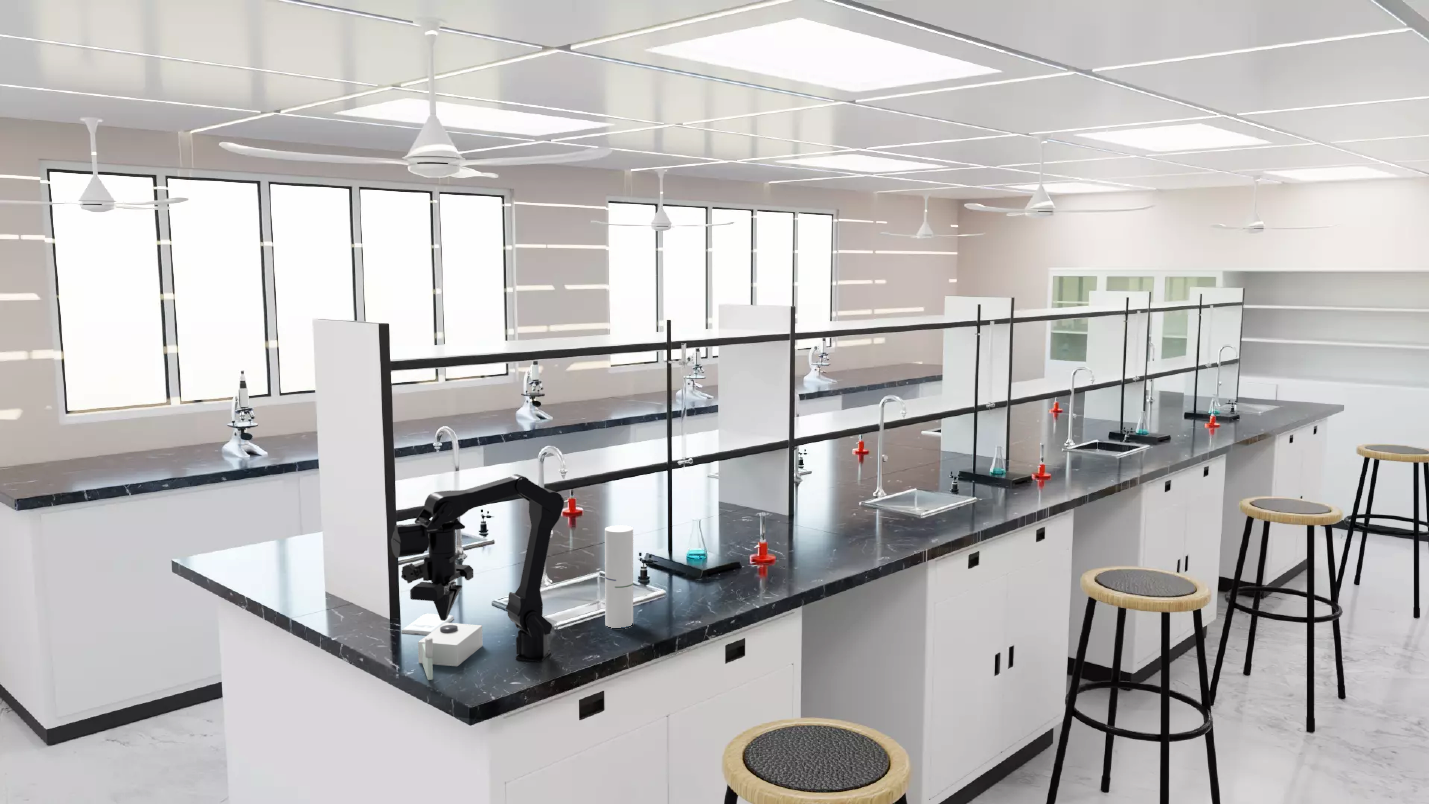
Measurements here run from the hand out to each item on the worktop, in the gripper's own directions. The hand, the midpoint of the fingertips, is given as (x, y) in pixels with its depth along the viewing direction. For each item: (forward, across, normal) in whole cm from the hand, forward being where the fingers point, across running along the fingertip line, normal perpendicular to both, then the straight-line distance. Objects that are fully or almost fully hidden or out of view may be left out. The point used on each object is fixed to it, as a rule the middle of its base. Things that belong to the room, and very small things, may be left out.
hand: (443, 620), depth 221 cm
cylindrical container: (+13, -42, +28) cm, 52 cm away
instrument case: (+13, -13, -5) cm, 19 cm away
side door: (+13, -1, -5) cm, 13 cm away
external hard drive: (+14, -30, -19) cm, 38 cm away
